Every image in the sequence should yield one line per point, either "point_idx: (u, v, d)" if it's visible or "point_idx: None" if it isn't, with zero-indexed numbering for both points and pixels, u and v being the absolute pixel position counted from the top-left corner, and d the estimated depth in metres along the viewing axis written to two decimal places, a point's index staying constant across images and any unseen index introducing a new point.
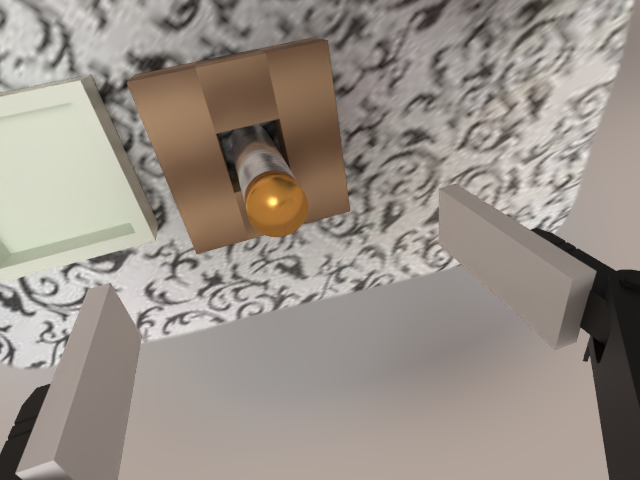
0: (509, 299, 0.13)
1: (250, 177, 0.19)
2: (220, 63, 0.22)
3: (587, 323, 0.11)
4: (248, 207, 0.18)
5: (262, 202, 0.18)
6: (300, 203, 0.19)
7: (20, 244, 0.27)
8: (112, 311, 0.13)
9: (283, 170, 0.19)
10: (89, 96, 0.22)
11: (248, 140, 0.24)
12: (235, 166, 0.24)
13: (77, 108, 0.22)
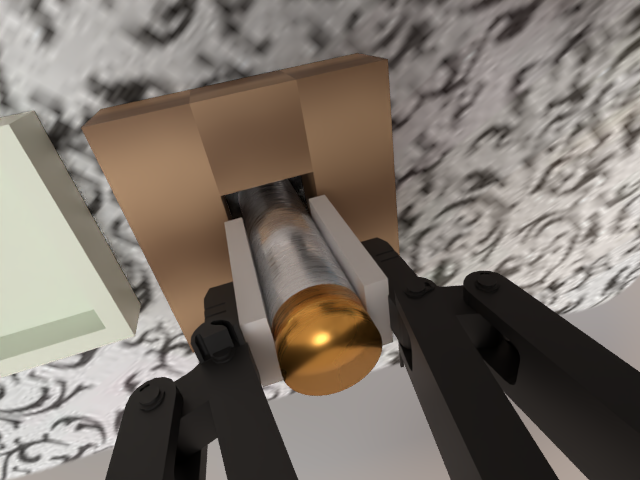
0: None
1: (280, 293, 0.12)
2: (227, 95, 0.15)
3: (392, 325, 0.12)
4: (282, 360, 0.10)
5: (307, 351, 0.10)
6: (369, 344, 0.11)
7: None
8: (247, 238, 0.16)
9: (336, 280, 0.12)
10: (26, 147, 0.15)
11: (268, 206, 0.16)
12: None
13: (7, 165, 0.14)
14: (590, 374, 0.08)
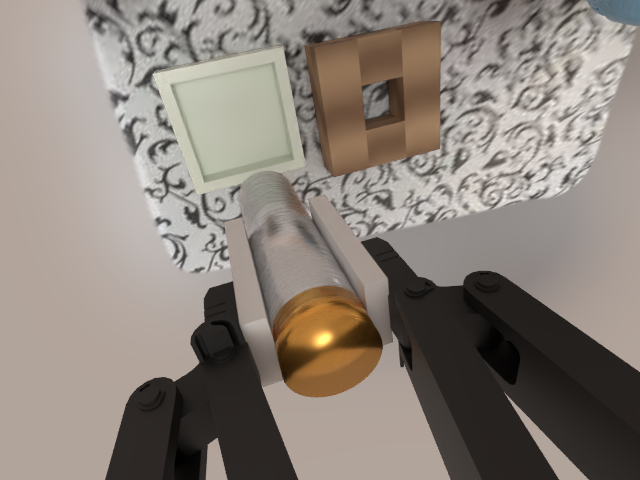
0: None
1: (281, 295, 0.12)
2: (372, 36, 0.33)
3: (392, 325, 0.12)
4: (283, 362, 0.10)
5: (307, 352, 0.10)
6: (370, 346, 0.11)
7: (211, 168, 0.38)
8: (247, 239, 0.16)
9: (336, 282, 0.12)
10: (284, 58, 0.33)
11: (269, 207, 0.16)
12: (250, 246, 0.16)
13: (277, 66, 0.33)
14: (590, 374, 0.08)
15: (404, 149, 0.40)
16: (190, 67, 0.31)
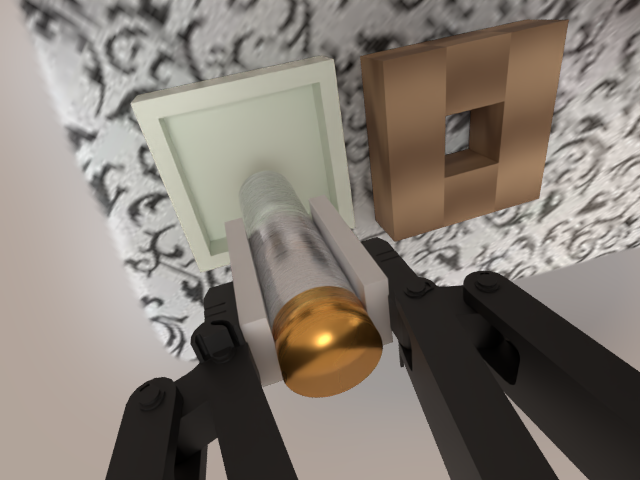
0: None
1: (281, 295, 0.12)
2: (469, 42, 0.22)
3: (392, 325, 0.12)
4: (283, 362, 0.10)
5: (307, 353, 0.10)
6: (370, 346, 0.11)
7: (220, 231, 0.26)
8: (247, 239, 0.16)
9: (337, 282, 0.12)
10: None
11: (269, 207, 0.16)
12: (250, 246, 0.16)
13: (323, 88, 0.22)
14: (590, 374, 0.08)
15: (492, 201, 0.28)
16: (190, 92, 0.20)
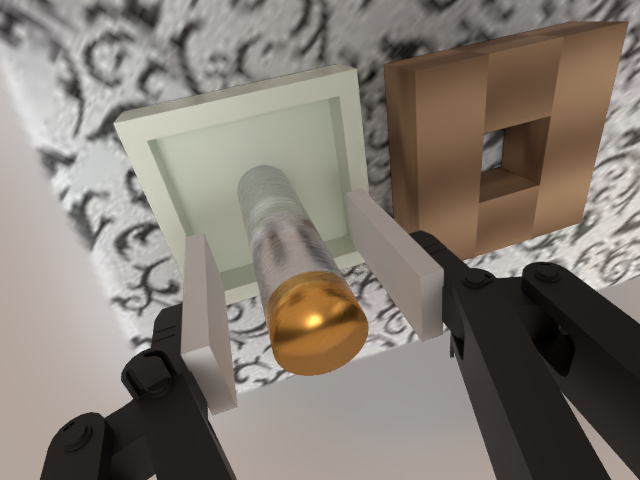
0: (394, 296, 0.14)
1: (274, 279, 0.12)
2: (515, 48, 0.18)
3: (445, 317, 0.12)
4: (274, 340, 0.11)
5: (296, 332, 0.11)
6: (356, 327, 0.12)
7: (222, 264, 0.23)
8: (208, 255, 0.15)
9: (326, 268, 0.12)
10: None
11: (265, 199, 0.17)
12: (247, 236, 0.17)
13: (344, 103, 0.18)
14: None
15: (530, 227, 0.25)
16: (186, 109, 0.17)
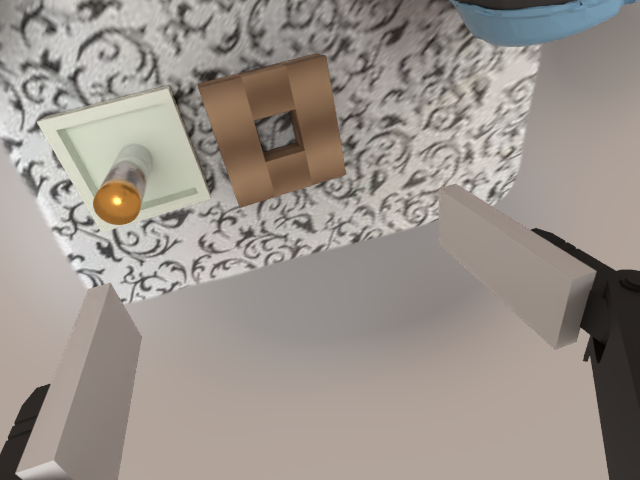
0: (509, 299, 0.13)
1: (101, 184, 0.28)
2: (257, 73, 0.34)
3: (587, 323, 0.11)
4: (93, 205, 0.27)
5: (103, 201, 0.27)
6: (132, 200, 0.27)
7: None
8: (112, 311, 0.13)
9: (124, 179, 0.28)
10: (172, 98, 0.34)
11: (119, 158, 0.33)
12: None
13: (165, 107, 0.34)
14: None
15: (309, 177, 0.40)
16: (74, 113, 0.32)
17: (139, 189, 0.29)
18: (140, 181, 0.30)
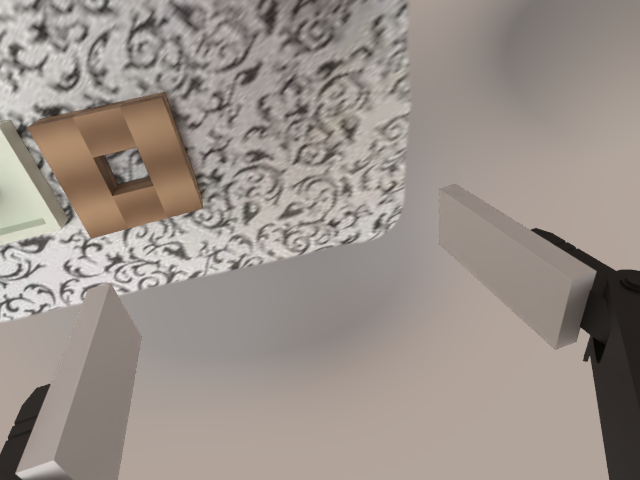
0: (509, 299, 0.13)
1: None
2: (89, 114, 0.35)
3: (587, 323, 0.11)
4: None
5: None
6: None
7: None
8: (112, 311, 0.13)
9: None
10: (6, 135, 0.35)
11: None
12: None
13: None
14: None
15: (162, 210, 0.41)
16: None
17: None
18: None
